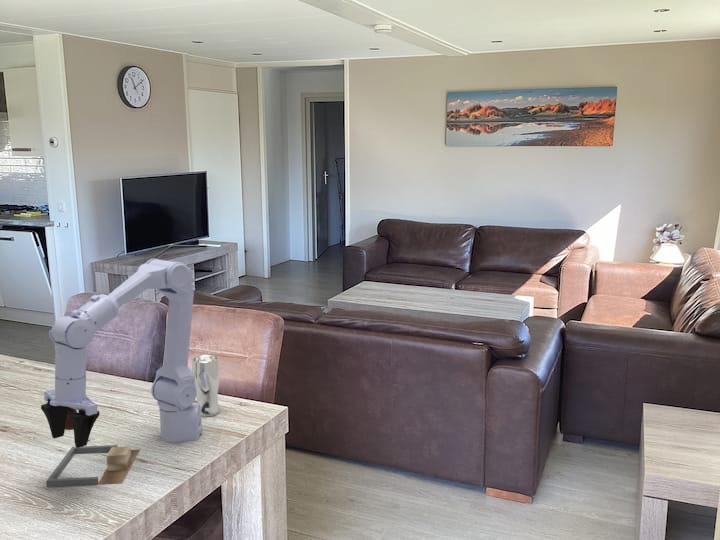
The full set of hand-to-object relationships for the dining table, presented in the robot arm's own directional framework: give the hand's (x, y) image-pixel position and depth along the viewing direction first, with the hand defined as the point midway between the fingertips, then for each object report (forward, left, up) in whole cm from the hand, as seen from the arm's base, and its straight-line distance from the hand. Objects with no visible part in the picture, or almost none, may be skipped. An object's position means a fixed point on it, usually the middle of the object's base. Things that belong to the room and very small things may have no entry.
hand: (69, 441), depth 129 cm
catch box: (0, -7, -11) cm, 13 cm away
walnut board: (-7, -7, -11) cm, 15 cm away
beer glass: (-22, -37, -11) cm, 44 cm away
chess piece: (+10, -29, -11) cm, 32 cm away
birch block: (-7, -7, -9) cm, 14 cm away
